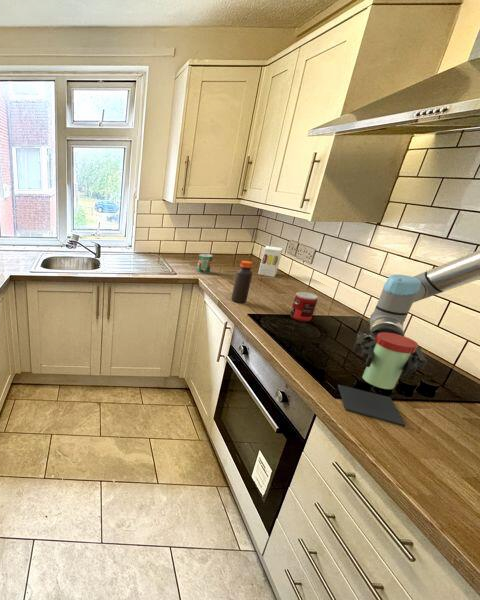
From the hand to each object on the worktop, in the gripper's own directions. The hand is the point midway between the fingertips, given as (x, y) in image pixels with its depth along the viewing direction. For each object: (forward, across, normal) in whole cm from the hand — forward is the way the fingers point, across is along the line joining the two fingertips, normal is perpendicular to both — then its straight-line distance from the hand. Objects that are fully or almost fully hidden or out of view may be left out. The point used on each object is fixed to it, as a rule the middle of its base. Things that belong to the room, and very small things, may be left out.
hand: (388, 367), depth 78 cm
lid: (-5, 0, +6) cm, 8 cm away
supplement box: (-120, +50, -15) cm, 131 cm away
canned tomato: (-98, +82, -16) cm, 129 cm away
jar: (-5, 0, -7) cm, 9 cm away
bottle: (-61, +50, -15) cm, 80 cm away
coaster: (-5, 0, -15) cm, 15 cm away
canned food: (-58, +24, -15) cm, 64 cm away
